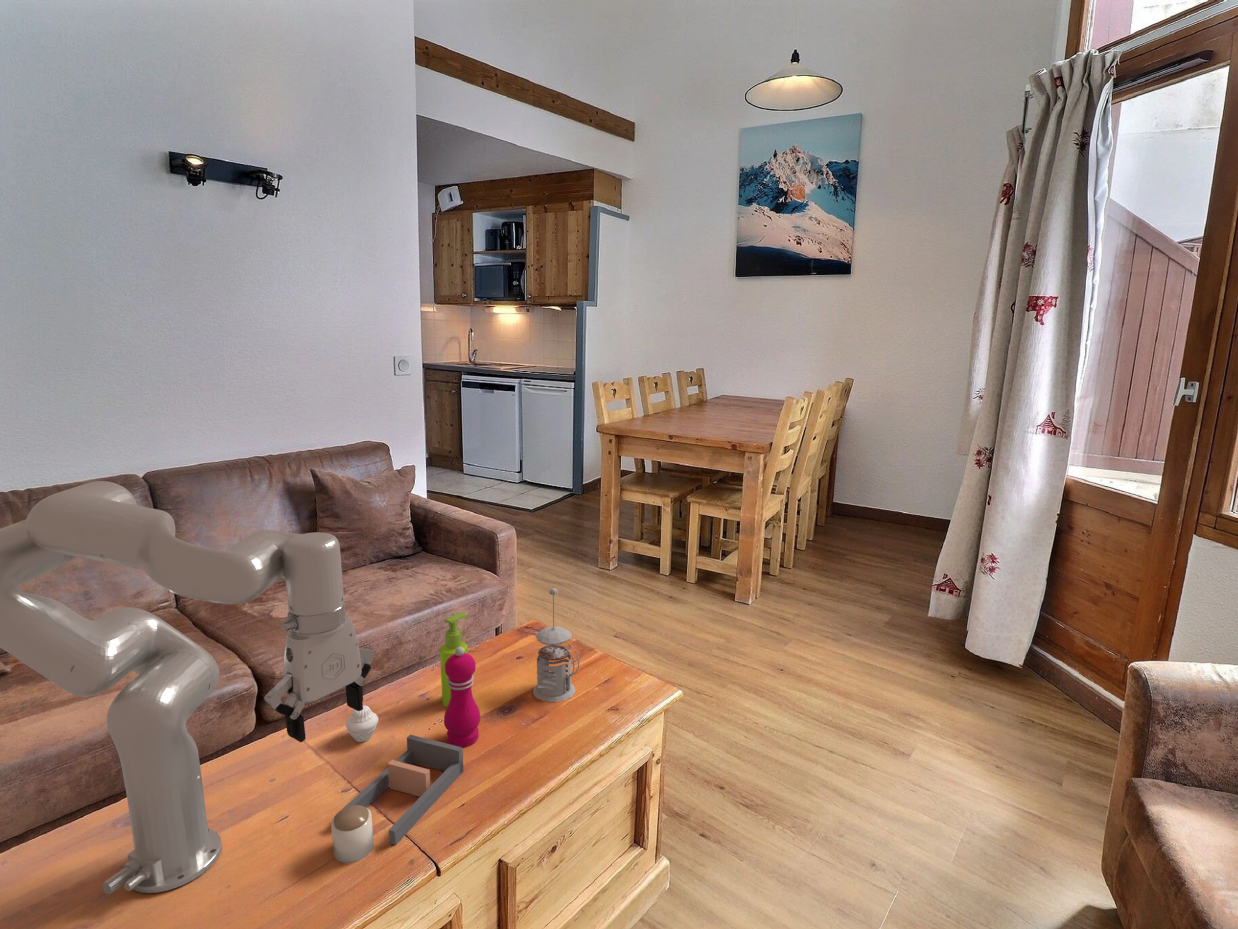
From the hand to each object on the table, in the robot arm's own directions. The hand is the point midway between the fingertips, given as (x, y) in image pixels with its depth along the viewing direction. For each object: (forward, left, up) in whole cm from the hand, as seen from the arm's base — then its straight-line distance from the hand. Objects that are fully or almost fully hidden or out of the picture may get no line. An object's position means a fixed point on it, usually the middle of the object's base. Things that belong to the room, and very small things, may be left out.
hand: (327, 722), depth 104 cm
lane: (+15, -1, -23) cm, 28 cm away
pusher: (+17, -1, -23) cm, 29 cm away
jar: (+2, -1, -24) cm, 24 cm away
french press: (+57, -11, -24) cm, 63 cm away
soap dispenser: (+46, +8, -24) cm, 52 cm away
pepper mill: (+34, -1, -24) cm, 41 cm away
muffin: (+27, +18, -24) cm, 40 cm away
